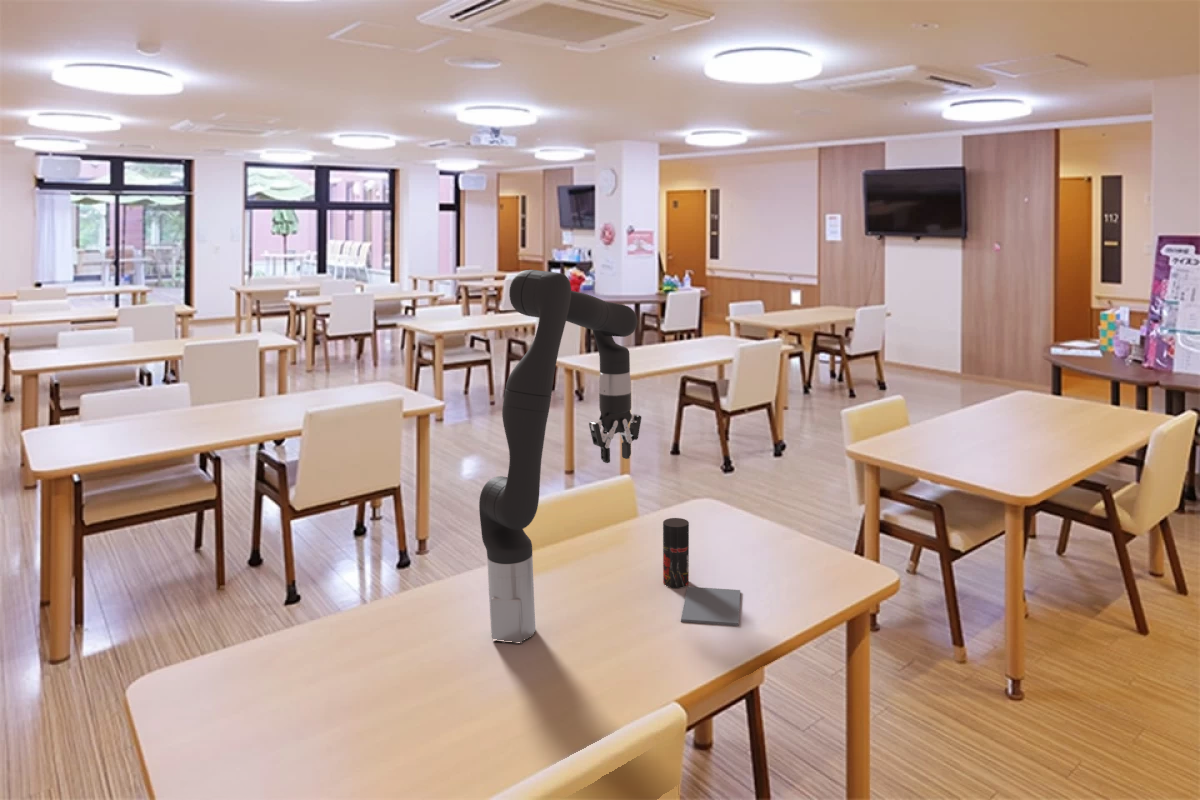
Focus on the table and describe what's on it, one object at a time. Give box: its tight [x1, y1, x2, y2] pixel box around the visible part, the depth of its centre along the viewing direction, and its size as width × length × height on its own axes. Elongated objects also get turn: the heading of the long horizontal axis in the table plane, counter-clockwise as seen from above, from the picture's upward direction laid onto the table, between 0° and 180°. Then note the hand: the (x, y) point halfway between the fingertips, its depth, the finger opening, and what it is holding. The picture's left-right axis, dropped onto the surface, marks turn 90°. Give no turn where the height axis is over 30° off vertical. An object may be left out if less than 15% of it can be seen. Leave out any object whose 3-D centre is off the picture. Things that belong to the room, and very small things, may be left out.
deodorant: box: [662, 517, 690, 589], centre depth 195 cm, size 6×6×15 cm
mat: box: [680, 586, 741, 627], centre depth 184 cm, size 16×12×1 cm
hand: (616, 459), depth 200 cm, fingers open, 5 cm apart
